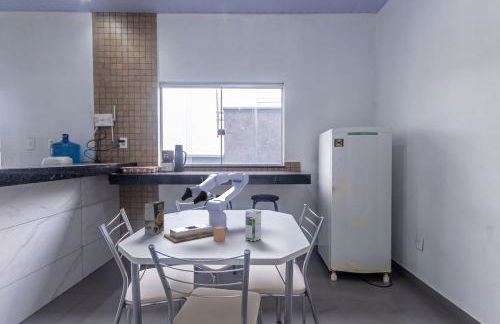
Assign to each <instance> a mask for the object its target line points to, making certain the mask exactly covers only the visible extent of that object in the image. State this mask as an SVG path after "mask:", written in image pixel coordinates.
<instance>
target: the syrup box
mask: <svg viewBox="0 0 500 324" xmlns="http://www.w3.org/2000/svg"><path fill="white" fill-rule="evenodd" d="M244 221H245V227H244V229H245V230H244V231H245V235H244V236H245V238H244V240H245V241H248V240H250V241H249V242H252V241H256V240H259V239H261V240H262V210H260V209H253V208H249V209H245V220H244ZM259 241H260V240H259ZM256 242H257V241H256Z"/></svg>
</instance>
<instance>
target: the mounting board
mask: <svg viewBox="0 0 500 324" xmlns="http://www.w3.org/2000/svg"><path fill="white" fill-rule="evenodd" d="M163 237H164V238H165V239H167V240H168V241H171V242H172V243H174V244H177V243H183V242H187V241H193V240H198V239H203V238H209V237H214V230H213V232H210V233H204V234H199V235H193V236H188V237H182V238H177V239H176V238H174V237H172V236H171V235H170V232H169V233H165V234H163Z"/></svg>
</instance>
